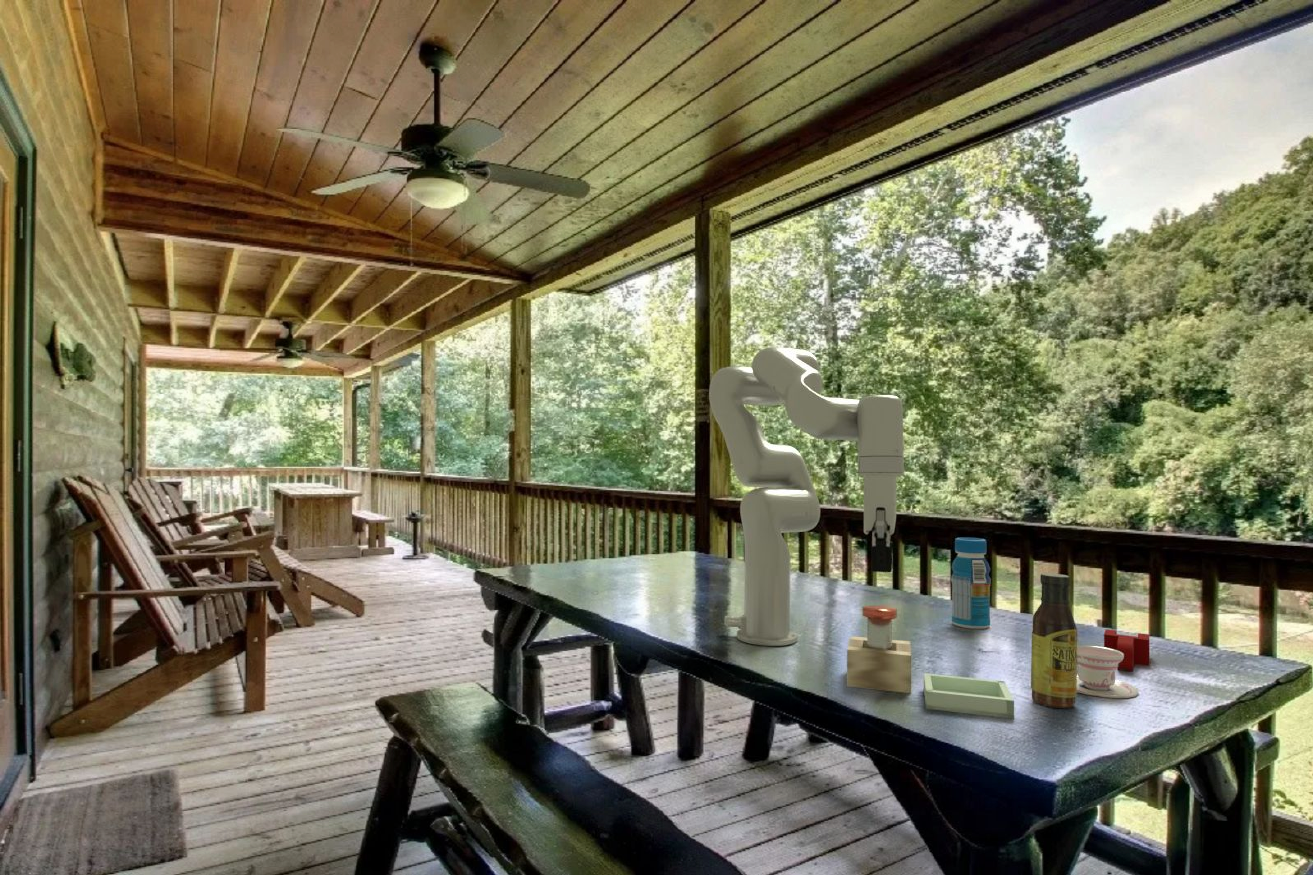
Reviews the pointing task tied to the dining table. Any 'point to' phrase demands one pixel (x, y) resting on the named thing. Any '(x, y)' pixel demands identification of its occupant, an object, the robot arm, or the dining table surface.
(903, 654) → the socket block
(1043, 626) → the sauce bottle
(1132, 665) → the mechanical linkage
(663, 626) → the dining table surface
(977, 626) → the beverage bottle
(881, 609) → the pin
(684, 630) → the dining table surface
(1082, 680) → the teacup
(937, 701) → the tray
